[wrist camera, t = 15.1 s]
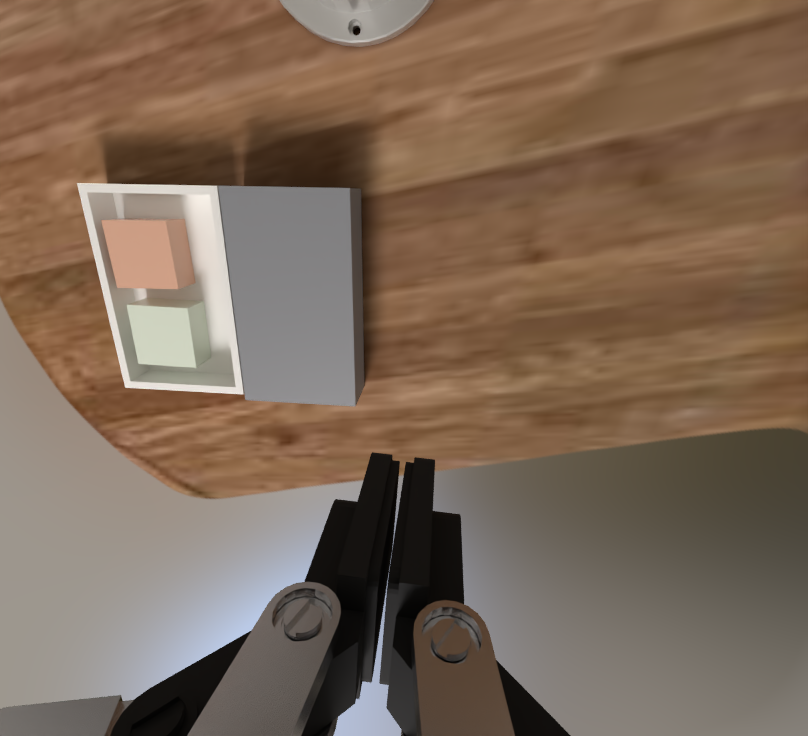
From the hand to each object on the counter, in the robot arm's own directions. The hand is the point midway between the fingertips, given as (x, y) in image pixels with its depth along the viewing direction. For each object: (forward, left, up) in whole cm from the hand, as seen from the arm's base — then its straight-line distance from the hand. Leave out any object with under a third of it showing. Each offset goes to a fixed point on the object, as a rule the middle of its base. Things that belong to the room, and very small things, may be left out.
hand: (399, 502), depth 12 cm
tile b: (+4, -21, -23) cm, 31 cm away
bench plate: (0, -10, -25) cm, 27 cm away
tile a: (-3, -22, -23) cm, 32 cm away
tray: (0, -20, -25) cm, 33 cm away
